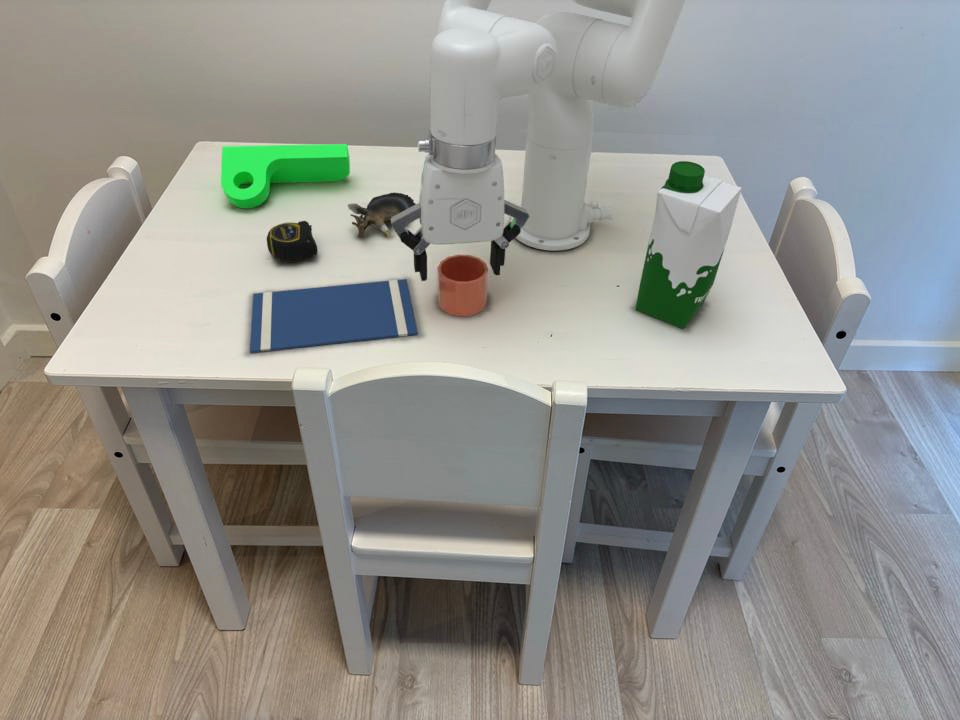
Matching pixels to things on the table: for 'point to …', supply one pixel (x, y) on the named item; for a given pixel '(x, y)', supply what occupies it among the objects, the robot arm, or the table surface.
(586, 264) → the table surface
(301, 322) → the towel
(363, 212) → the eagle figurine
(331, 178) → the bracket
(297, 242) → the tape measure
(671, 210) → the milk carton
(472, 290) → the orange plastic cup
